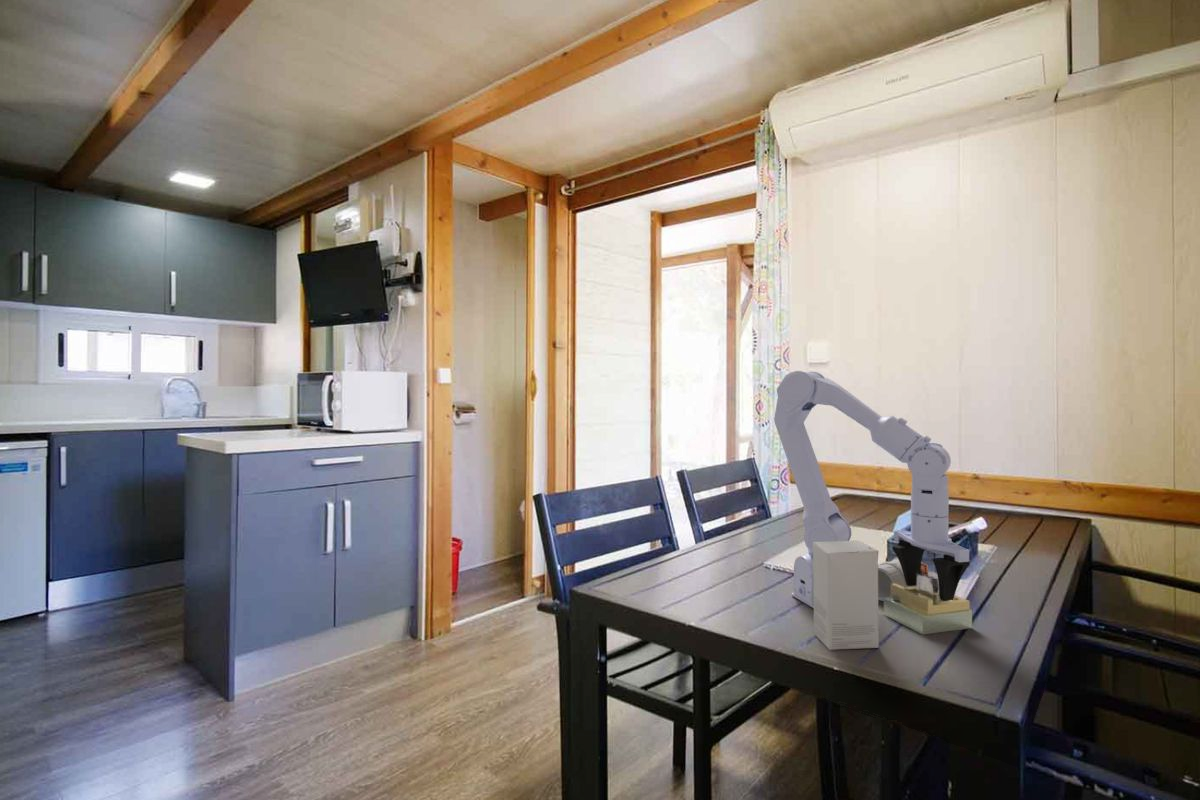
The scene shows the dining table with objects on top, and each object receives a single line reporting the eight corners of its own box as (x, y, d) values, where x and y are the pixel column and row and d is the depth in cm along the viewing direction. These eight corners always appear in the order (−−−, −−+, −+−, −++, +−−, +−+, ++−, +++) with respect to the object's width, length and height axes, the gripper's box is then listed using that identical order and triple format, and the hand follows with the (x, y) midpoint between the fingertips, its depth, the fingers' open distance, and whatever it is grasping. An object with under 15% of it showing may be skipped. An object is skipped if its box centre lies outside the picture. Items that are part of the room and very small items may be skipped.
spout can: (948, 606, 102) (948, 568, 102) (929, 608, 101) (929, 570, 101) (929, 598, 106) (929, 562, 106) (911, 600, 105) (911, 564, 105)
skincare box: (861, 633, 99) (861, 539, 99) (881, 650, 92) (881, 550, 92) (811, 633, 99) (811, 540, 98) (827, 651, 92) (828, 550, 92)
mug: (938, 591, 113) (897, 605, 108) (887, 597, 123) (847, 611, 117) (922, 551, 116) (882, 563, 110) (873, 560, 125) (834, 571, 120)
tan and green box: (922, 634, 98) (922, 601, 98) (883, 614, 107) (883, 583, 107) (971, 628, 101) (972, 595, 101) (929, 609, 109) (930, 579, 109)
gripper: (984, 521, 98) (984, 604, 98) (916, 505, 112) (916, 577, 112) (949, 524, 96) (948, 608, 96) (884, 507, 110) (884, 580, 110)
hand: (929, 592), depth 104 cm, fingers open, 7 cm apart
